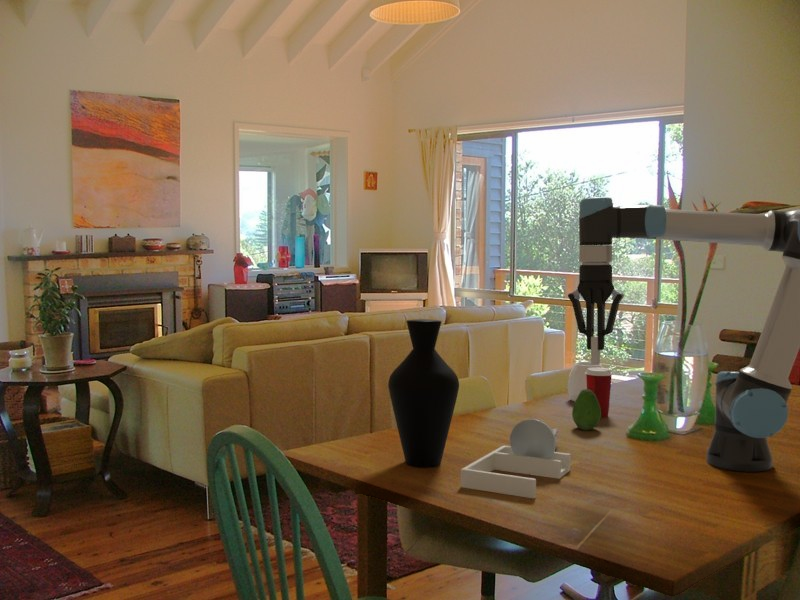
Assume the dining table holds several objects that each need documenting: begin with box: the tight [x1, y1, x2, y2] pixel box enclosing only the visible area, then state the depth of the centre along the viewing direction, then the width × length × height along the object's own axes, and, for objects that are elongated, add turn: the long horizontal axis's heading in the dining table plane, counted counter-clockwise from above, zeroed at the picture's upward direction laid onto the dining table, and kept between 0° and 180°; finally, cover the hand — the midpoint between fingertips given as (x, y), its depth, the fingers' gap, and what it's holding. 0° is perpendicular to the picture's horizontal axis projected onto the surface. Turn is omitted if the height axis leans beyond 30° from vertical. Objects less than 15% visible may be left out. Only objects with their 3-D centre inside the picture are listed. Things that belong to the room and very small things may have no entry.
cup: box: [567, 361, 604, 403], centre depth 283 cm, size 13×13×14 cm
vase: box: [387, 318, 460, 469], centre depth 205 cm, size 17×17×35 cm
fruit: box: [571, 389, 602, 431], centre depth 243 cm, size 8×8×12 cm
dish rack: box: [460, 445, 571, 499], centre depth 194 cm, size 17×25×4 cm
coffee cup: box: [585, 367, 613, 419], centre depth 261 cm, size 8×8×15 cm
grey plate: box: [509, 418, 557, 459], centre depth 201 cm, size 11×1×11 cm, turn 61°
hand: (595, 363), depth 200 cm, fingers closed
